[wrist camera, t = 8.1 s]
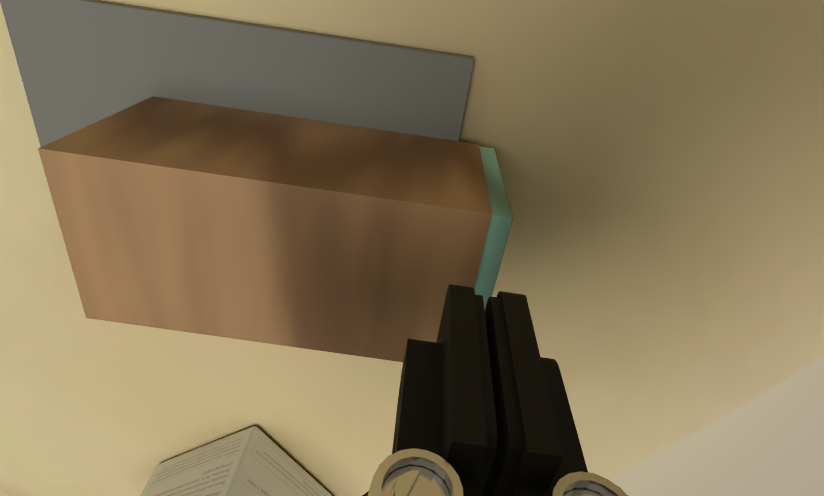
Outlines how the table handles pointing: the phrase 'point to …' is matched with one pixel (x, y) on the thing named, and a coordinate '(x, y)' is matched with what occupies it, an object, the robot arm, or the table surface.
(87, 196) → the walnut block
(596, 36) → the table surface
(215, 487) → the supplement box
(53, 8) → the mat
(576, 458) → the robot arm
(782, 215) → the table surface
